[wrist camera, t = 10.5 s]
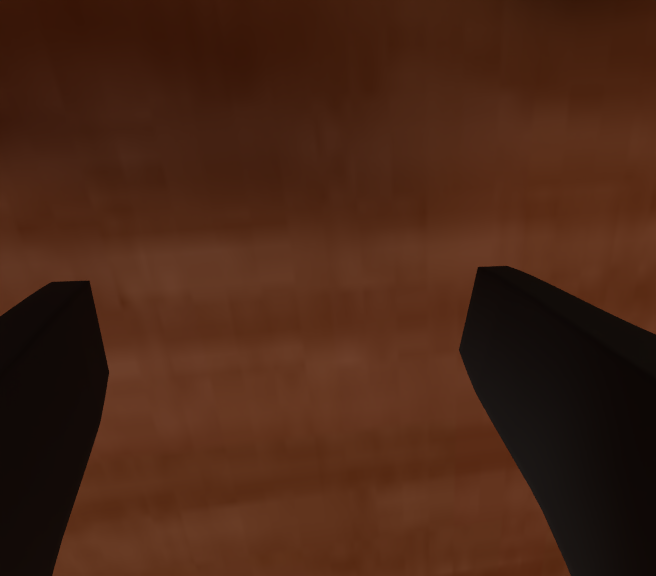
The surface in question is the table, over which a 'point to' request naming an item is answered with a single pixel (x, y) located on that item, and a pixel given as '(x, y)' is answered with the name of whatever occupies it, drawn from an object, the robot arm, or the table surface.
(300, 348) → the table surface
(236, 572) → the table surface
